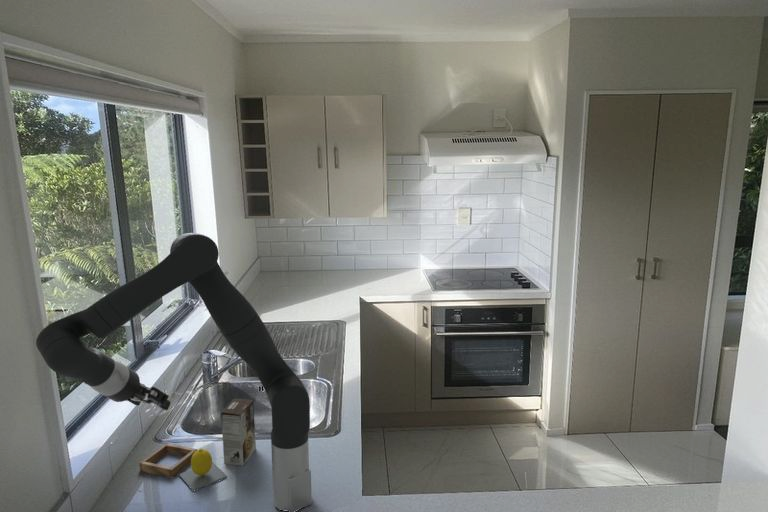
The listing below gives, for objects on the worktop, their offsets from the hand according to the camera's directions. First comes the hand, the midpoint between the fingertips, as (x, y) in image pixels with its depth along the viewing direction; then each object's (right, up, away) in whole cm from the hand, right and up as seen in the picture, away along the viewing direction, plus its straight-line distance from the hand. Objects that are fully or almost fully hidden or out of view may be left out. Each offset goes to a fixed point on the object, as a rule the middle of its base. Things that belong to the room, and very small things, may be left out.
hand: (153, 403), depth 133 cm
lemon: (+7, -24, +15) cm, 29 cm away
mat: (+7, -24, +15) cm, 30 cm away
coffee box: (+15, -23, +25) cm, 37 cm away
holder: (-5, -23, +21) cm, 32 cm away
